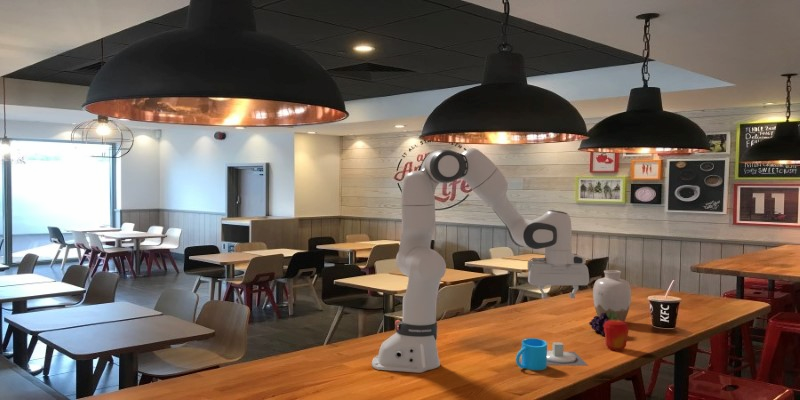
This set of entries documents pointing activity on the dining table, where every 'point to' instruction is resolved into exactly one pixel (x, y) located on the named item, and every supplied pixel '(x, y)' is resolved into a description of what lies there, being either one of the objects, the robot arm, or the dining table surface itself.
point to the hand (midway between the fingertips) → (558, 298)
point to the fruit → (602, 321)
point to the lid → (560, 354)
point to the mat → (577, 362)
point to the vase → (612, 295)
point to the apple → (616, 334)
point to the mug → (533, 354)
